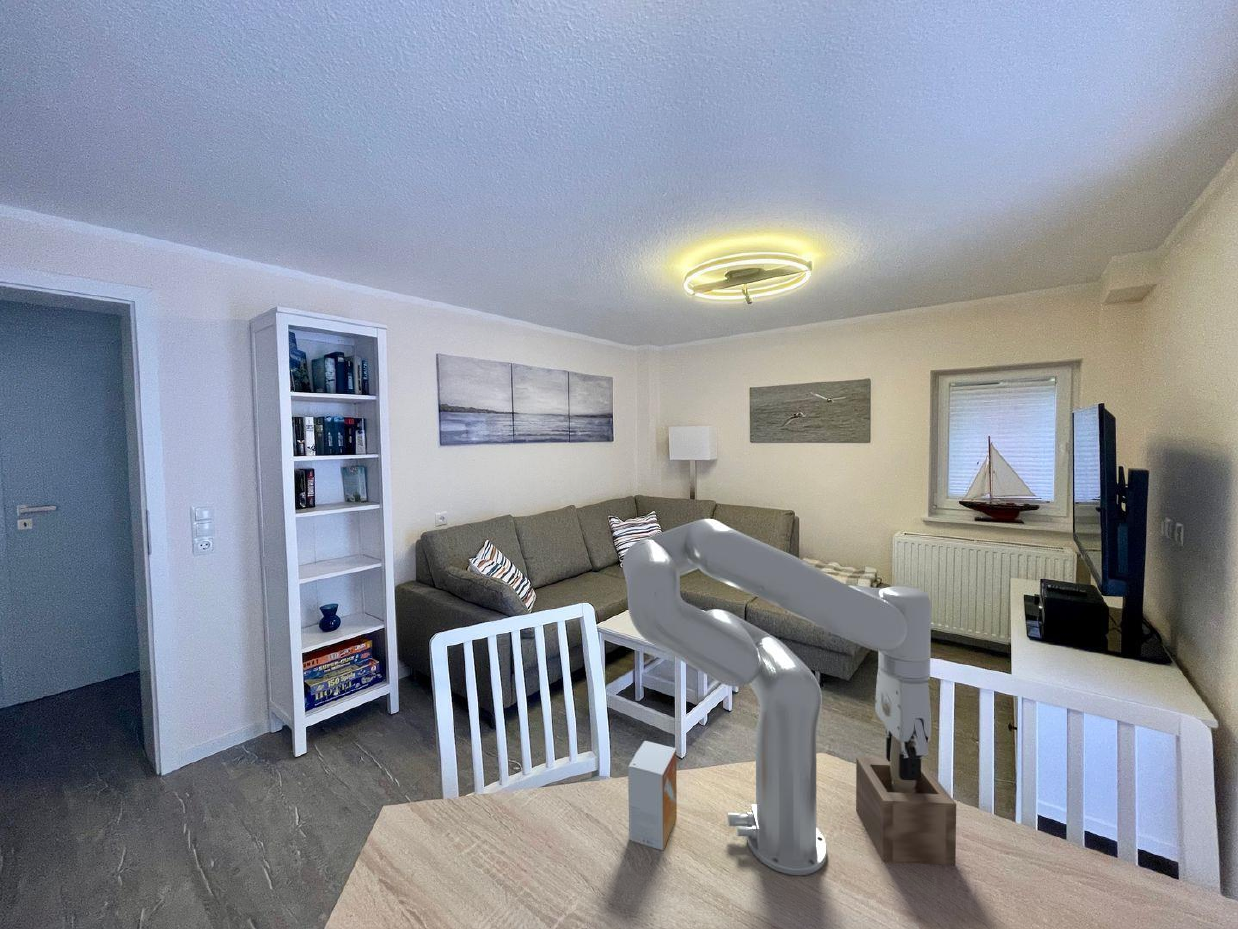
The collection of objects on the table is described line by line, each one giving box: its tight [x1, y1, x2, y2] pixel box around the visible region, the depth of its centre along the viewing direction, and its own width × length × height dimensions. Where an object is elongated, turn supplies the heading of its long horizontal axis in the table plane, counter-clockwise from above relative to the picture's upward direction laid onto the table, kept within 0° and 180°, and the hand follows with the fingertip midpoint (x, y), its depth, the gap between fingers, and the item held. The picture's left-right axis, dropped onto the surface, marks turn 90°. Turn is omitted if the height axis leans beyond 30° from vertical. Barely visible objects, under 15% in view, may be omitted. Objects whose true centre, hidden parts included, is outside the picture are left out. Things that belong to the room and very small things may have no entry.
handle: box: [882, 702, 916, 793], centre depth 84 cm, size 5×6×15 cm
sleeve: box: [855, 756, 957, 866], centre depth 85 cm, size 11×11×10 cm
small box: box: [627, 740, 678, 851], centre depth 87 cm, size 8×6×13 cm
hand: (903, 768), depth 84 cm, fingers closed on handle, 3 cm apart
